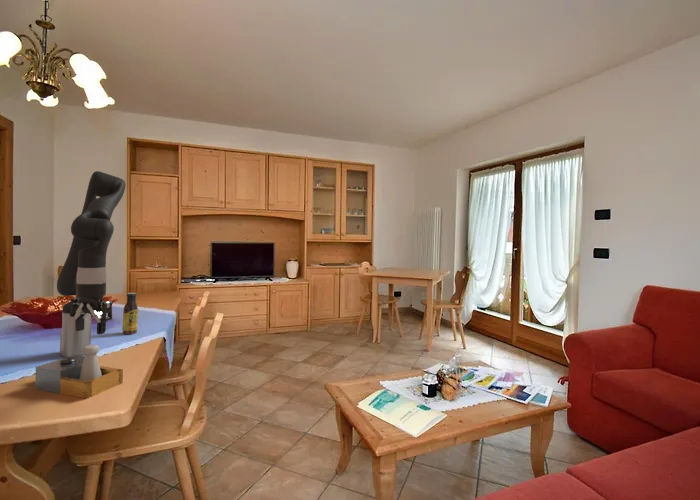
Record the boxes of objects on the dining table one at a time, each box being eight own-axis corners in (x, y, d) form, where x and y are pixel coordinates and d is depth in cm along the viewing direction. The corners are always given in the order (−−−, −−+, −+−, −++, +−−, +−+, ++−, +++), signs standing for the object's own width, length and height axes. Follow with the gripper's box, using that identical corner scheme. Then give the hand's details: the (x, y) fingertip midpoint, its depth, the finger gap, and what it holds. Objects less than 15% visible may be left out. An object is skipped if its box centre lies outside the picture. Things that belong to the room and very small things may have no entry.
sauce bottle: (130, 335, 165) (130, 294, 165) (119, 334, 166) (119, 293, 166) (140, 332, 172) (141, 292, 171) (130, 330, 173) (131, 291, 172)
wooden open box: (25, 387, 108) (26, 362, 108) (65, 373, 119) (66, 350, 119) (87, 398, 102) (87, 372, 102) (122, 382, 114) (123, 359, 113)
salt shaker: (87, 381, 112) (88, 342, 112) (105, 382, 112) (106, 343, 112) (74, 389, 106) (75, 348, 106) (93, 390, 107) (94, 348, 106)
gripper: (61, 280, 106) (60, 332, 107) (98, 284, 103) (96, 338, 103) (85, 278, 113) (84, 326, 114) (120, 281, 110) (118, 331, 110)
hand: (90, 332), depth 108 cm, fingers open, 8 cm apart
